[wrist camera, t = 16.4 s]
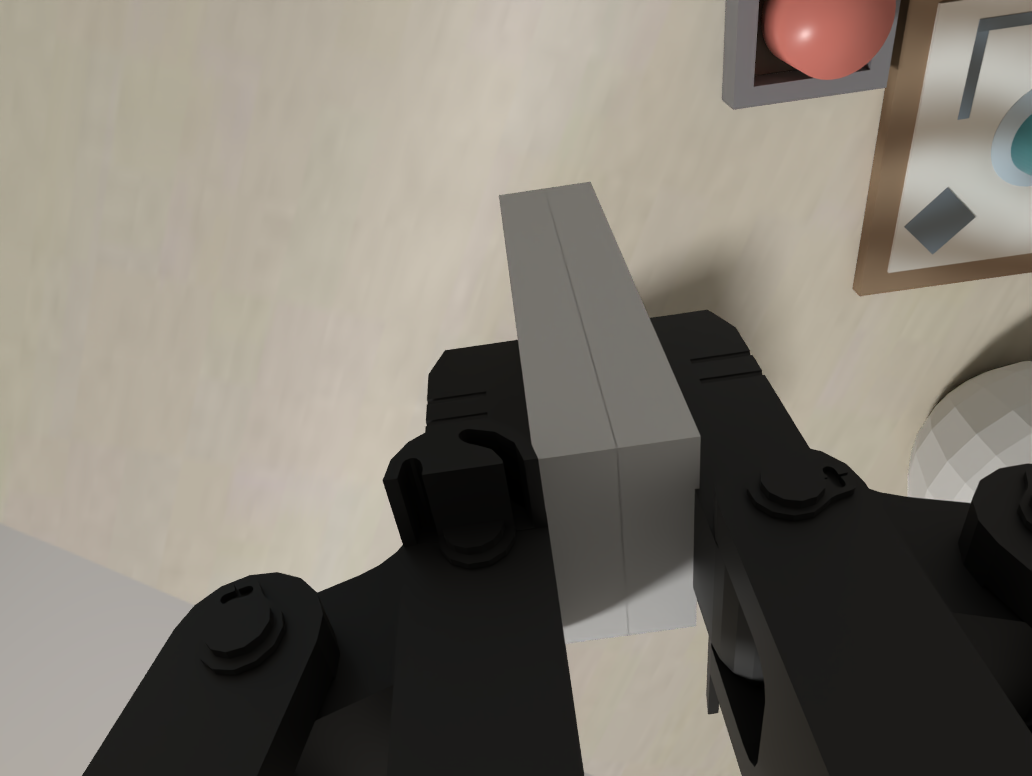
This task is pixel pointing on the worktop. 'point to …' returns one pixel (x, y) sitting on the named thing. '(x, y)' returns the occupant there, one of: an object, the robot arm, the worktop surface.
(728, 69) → the button housing
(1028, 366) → the vase
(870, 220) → the board
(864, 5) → the button
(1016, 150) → the marker
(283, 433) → the worktop surface
